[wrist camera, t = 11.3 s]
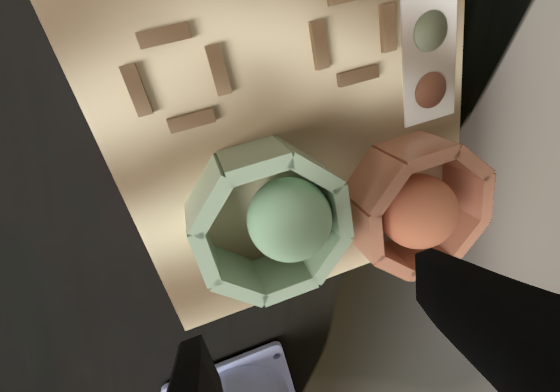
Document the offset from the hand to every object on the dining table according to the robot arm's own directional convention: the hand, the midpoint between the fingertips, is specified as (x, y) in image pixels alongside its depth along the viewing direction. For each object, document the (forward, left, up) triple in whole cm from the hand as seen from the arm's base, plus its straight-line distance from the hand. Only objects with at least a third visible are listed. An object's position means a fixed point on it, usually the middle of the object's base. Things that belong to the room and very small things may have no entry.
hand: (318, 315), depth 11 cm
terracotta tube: (-2, -8, -9) cm, 12 cm away
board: (+3, -3, -9) cm, 10 cm away
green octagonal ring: (0, 0, -9) cm, 9 cm away
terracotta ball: (-2, -8, -8) cm, 11 cm away
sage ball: (0, 0, -8) cm, 8 cm away
